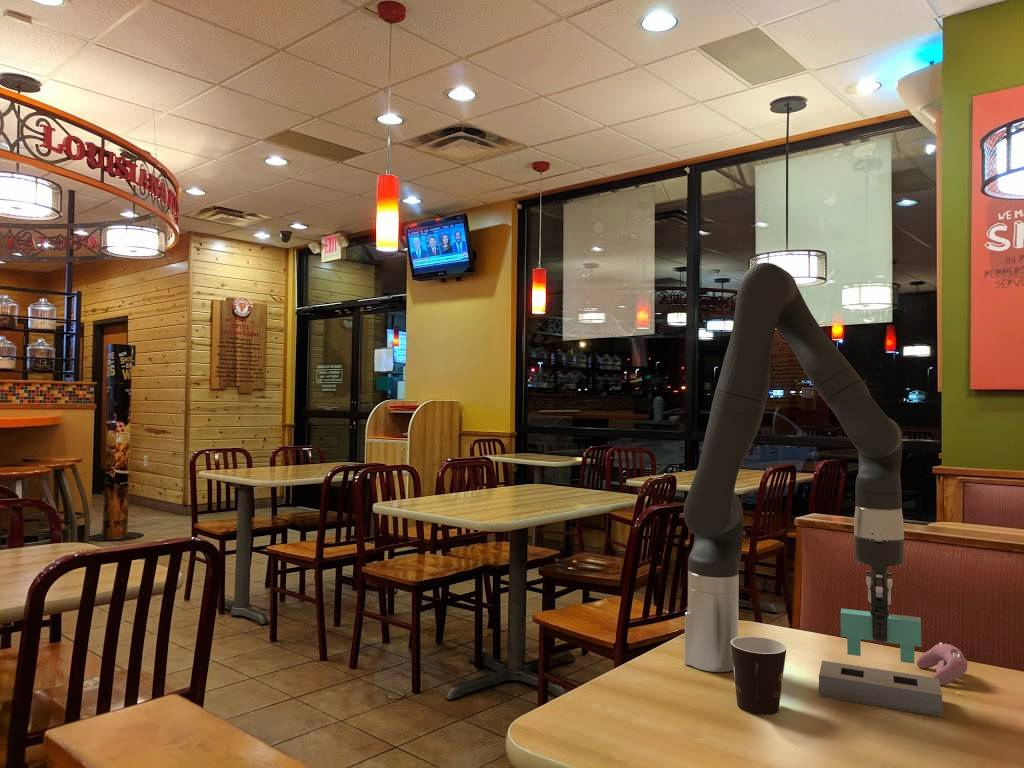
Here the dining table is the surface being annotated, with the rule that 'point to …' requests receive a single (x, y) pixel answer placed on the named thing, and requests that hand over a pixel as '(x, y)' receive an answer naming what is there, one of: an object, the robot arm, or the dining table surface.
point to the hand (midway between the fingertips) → (879, 637)
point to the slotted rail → (881, 688)
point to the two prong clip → (898, 632)
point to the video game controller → (944, 662)
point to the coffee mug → (758, 673)
